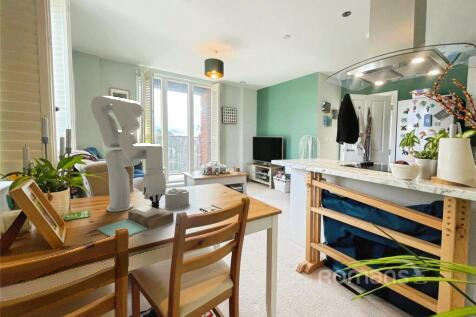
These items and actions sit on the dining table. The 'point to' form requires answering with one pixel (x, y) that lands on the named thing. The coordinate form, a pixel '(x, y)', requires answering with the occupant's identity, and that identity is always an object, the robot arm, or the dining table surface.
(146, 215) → the tile
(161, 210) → the block
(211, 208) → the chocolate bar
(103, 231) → the mat
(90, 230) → the dining table surface
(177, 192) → the lumpy-topped squat cylinder
